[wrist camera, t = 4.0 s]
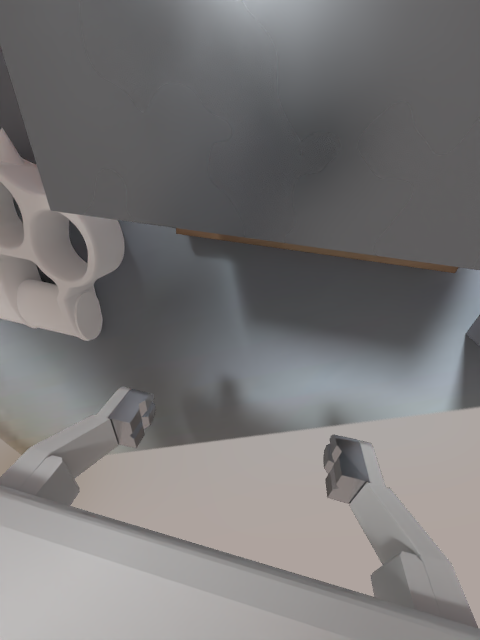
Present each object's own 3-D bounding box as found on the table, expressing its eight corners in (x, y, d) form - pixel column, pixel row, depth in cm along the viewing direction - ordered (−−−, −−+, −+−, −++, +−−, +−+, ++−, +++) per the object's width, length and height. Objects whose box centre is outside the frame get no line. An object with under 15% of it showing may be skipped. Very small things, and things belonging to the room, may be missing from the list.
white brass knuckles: (-24, 297, 24) (-124, 110, 16) (139, 335, 22) (115, 144, 14) (-67, 313, 21) (-212, 94, 13) (117, 357, 19) (72, 135, 12)
